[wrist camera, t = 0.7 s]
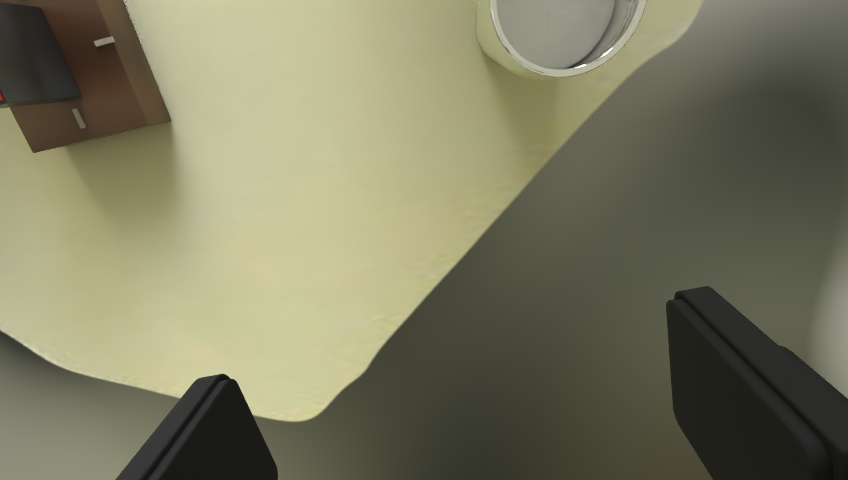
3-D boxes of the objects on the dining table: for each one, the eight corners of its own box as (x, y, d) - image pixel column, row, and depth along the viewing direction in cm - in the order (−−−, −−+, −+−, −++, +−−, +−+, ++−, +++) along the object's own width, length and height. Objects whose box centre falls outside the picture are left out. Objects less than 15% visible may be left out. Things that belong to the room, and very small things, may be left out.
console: (-17, -13, 34) (-61, -20, 31) (105, -49, 33) (70, -60, 30) (62, 146, 38) (30, 153, 35) (173, 120, 37) (148, 125, 34)
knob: (15, 14, 32) (-83, 3, 26) (40, 7, 31) (-53, -6, 26) (58, 102, 34) (-24, 110, 28) (82, 96, 33) (4, 103, 28)
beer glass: (571, 63, 34) (657, 63, 20) (477, 83, 34) (496, 97, 20) (562, -44, 31) (653, -130, 17) (462, -20, 32) (470, -83, 18)
